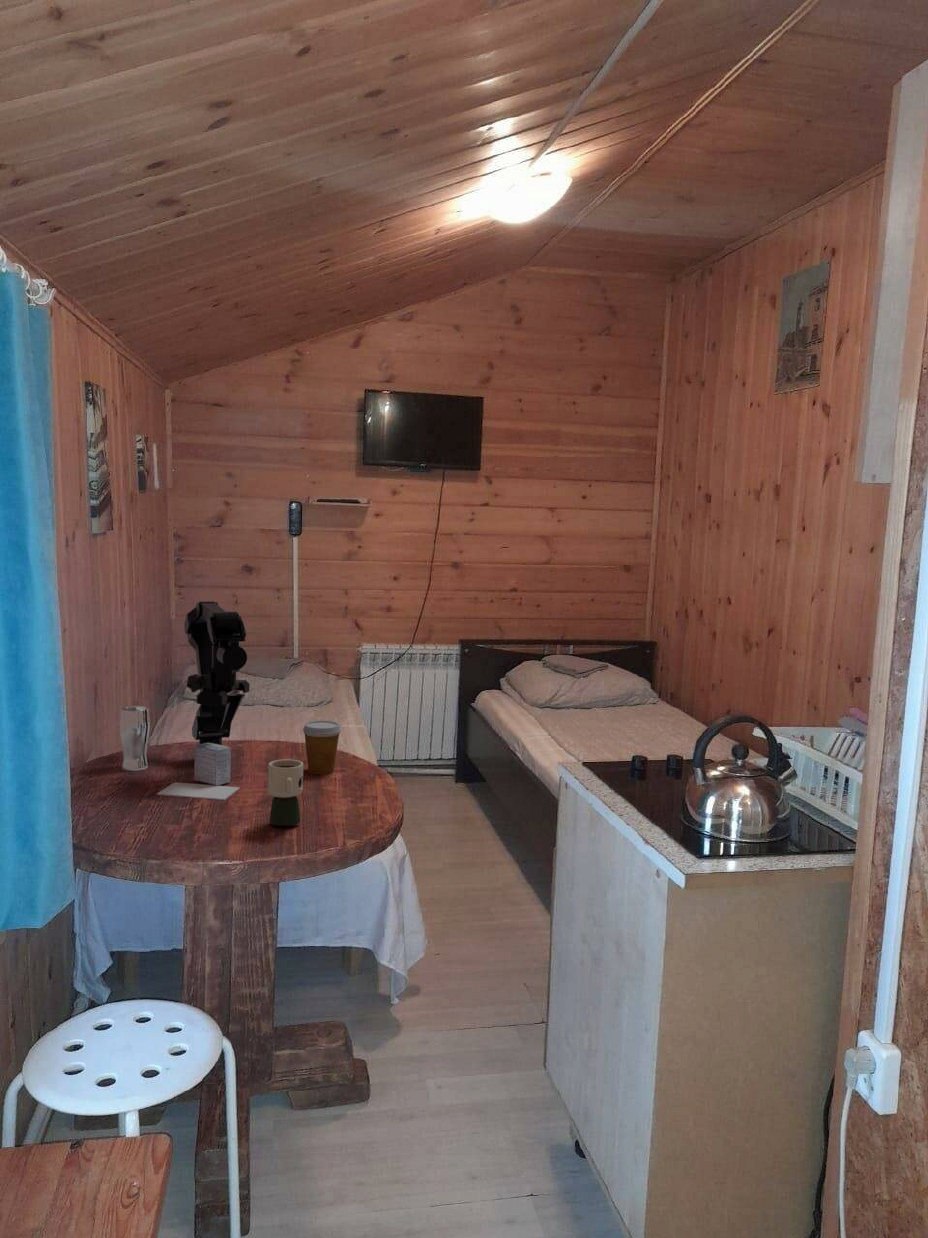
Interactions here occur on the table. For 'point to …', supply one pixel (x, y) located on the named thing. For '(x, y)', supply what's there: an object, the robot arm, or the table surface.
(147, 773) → the table surface
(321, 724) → the disposable coffee cup
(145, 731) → the beer glass
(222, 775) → the medicine box
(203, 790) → the mat
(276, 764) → the character mug
